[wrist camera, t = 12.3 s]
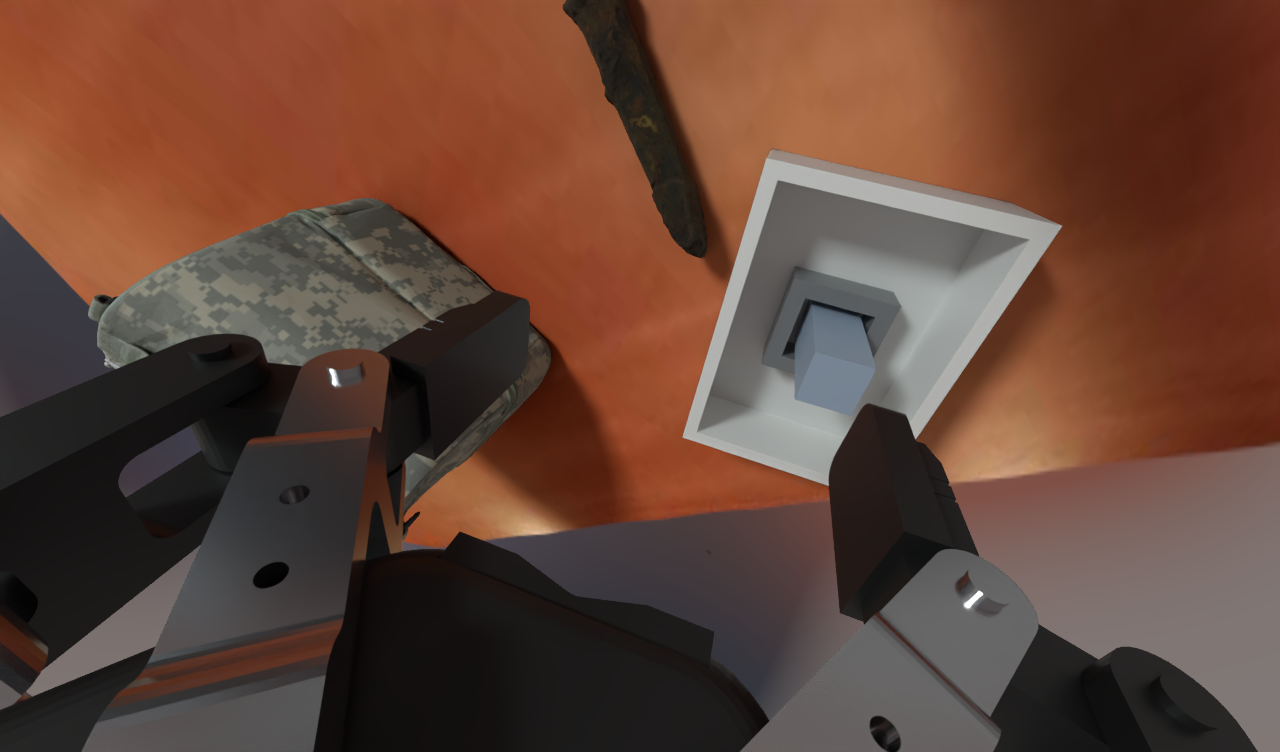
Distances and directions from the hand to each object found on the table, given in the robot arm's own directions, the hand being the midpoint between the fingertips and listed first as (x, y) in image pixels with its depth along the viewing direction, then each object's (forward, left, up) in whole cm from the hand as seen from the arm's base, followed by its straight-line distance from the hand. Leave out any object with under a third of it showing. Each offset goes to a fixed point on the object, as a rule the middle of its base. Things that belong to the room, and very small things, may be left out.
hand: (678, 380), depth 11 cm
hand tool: (-3, -8, -29) cm, 30 cm away
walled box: (+8, +8, -28) cm, 30 cm away
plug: (+8, +8, -27) cm, 29 cm away
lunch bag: (+20, -29, -28) cm, 45 cm away
